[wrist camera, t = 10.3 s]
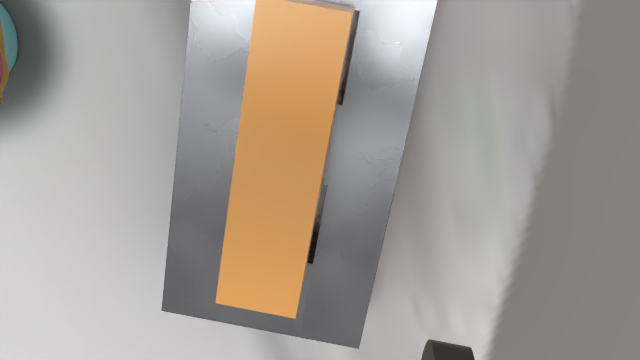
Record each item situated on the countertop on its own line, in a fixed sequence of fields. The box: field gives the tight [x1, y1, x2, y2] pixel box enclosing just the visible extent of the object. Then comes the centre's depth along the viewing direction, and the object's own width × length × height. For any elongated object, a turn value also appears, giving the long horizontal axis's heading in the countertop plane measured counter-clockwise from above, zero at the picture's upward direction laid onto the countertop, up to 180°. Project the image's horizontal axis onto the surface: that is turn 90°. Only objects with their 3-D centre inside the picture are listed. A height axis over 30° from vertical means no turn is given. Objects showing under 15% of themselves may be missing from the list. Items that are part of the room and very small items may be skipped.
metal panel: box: [162, 0, 437, 349], centre depth 26 cm, size 18×9×4 cm, turn 170°
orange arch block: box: [215, 0, 355, 319], centre depth 24 cm, size 11×3×7 cm, turn 170°
